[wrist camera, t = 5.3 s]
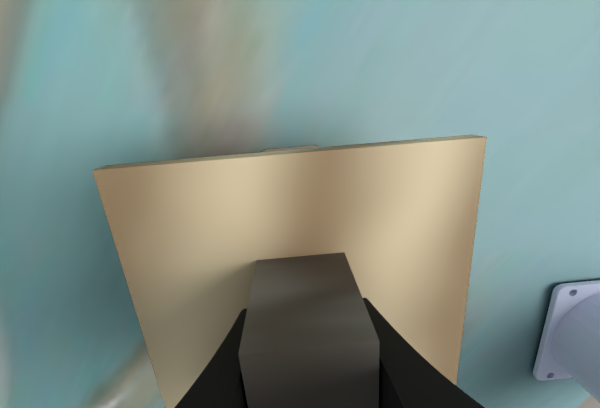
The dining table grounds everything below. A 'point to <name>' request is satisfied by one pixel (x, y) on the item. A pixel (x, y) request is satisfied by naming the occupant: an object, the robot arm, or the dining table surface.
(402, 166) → the lid
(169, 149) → the dining table surface
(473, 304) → the dining table surface
